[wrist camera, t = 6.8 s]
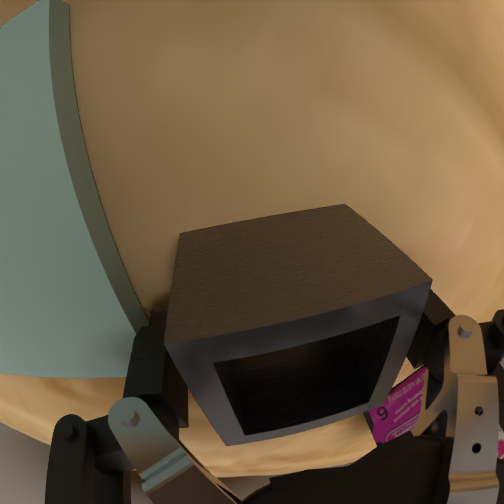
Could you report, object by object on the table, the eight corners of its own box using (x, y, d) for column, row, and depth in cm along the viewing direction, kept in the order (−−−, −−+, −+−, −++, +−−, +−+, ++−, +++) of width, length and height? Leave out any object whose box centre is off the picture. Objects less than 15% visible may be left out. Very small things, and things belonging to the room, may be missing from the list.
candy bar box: (464, 327, 16) (555, 468, 2) (465, 348, 19) (539, 468, 5) (356, 408, 19) (417, 563, 5) (373, 417, 21) (426, 545, 7)
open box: (345, 203, 10) (432, 279, 5) (338, 321, 13) (382, 404, 8) (180, 233, 9) (163, 343, 5) (216, 348, 12) (226, 446, 8)
